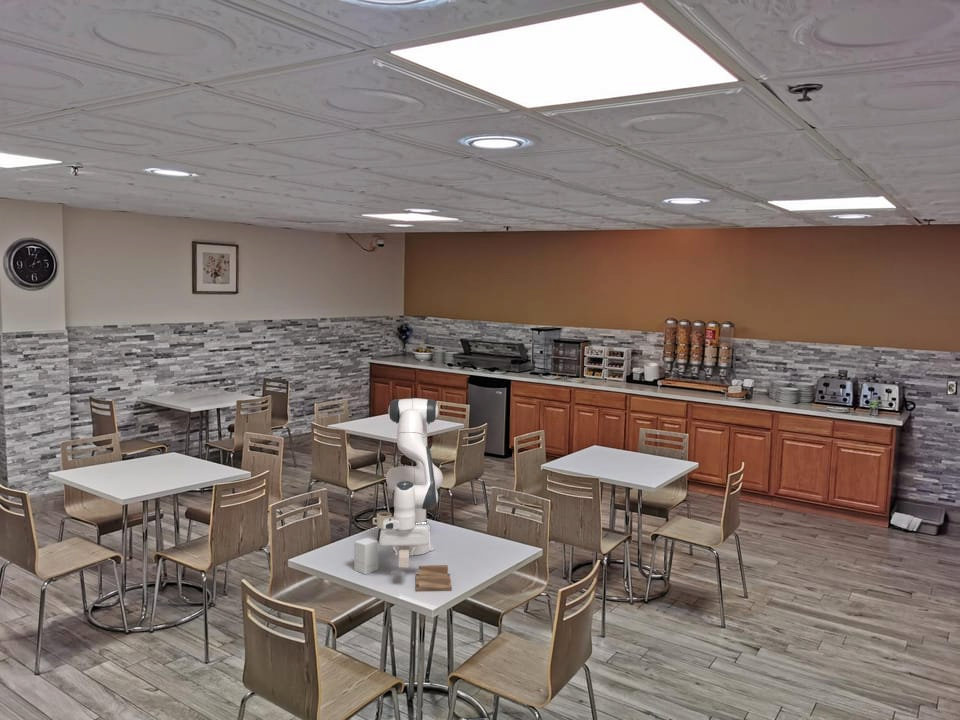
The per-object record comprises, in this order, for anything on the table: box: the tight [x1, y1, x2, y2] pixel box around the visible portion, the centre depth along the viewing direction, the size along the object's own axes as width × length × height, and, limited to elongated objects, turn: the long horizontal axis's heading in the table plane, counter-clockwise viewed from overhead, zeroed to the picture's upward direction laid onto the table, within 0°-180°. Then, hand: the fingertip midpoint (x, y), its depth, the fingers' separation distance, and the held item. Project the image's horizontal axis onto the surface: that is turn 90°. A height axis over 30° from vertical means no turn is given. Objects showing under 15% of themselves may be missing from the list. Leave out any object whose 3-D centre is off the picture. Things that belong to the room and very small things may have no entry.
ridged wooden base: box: [415, 564, 453, 592], centre depth 287 cm, size 15×14×5 cm
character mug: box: [372, 511, 393, 541], centre depth 338 cm, size 11×7×13 cm, turn 97°
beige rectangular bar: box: [398, 545, 410, 568], centre depth 288 cm, size 16×4×4 cm, turn 5°
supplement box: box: [353, 537, 379, 575], centre depth 300 cm, size 7×7×13 cm
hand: (404, 555), depth 289 cm, fingers closed on beige rectangular bar, 4 cm apart
